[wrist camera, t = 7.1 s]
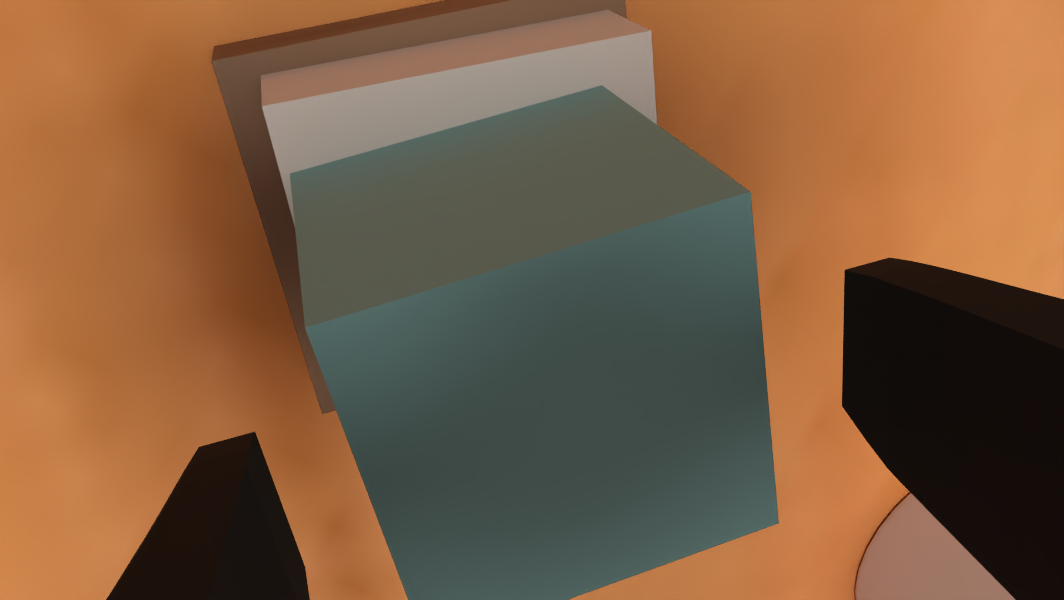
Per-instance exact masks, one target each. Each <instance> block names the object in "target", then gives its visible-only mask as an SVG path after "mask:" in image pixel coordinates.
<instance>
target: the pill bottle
mask: <svg viewBox="0 0 1064 600" xmlns="http://www.w3.org/2000/svg"><path fill="white" fill-rule="evenodd" d="M855 595H856V600H1015V599H1014V598H1013V597H1012V596H1011V595H1010V594H1009V592H1008V591H1007V590H1006V589H1005V588H1004V587H1003V586H1002V585H1001V584H1000V583H999V582H998V581H997V580H996V579H995V578H994V577H993V576H992V575H991V574H990V573H989V572H988V571H987V570H986V569H985V568H984V567H983V566H982V565H981V564H980V563H979V562H978V561H977V560H976V559H975V558H974V557H973V556H972V555H971V554H970V553H969V552H968V551H967V550H966V549H965V548H964V547H963V546H962V545H961V544H960V543H959V542H958V541H957V540H956V539H955V538H954V537H953V536H952V535H951V534H950V533H949V532H948V531H947V530H946V528H945V527H944V526H943V525H942V524H941V523H940V522H939V521H938V520H937V519H936V518H935V517H934V516H933V515H932V514H931V513H930V512H929V511H928V510H927V509H926V508H925V507H924V506H923V505H922V504H921V503H920V502H919V501H918V500H917V499H916V498H915V497H914V496H913V495H912V494H911V493H910V494H909V495H908V496H907V497H906V498H905V499H904V500H903V501H902V502H900V503H899V504H898V505H897V506H896V507H895V509H894V510H893V511H892V512H891V514H890V515H889V516H888V517H887V518H886V520H885V521H884V522H883V523H882V525H881V526H880V527H879V529H878V531H877V532H876V534H875V536H874V537H873V539H872V541H871V542H870V544H869V546H868V547H867V550H866V552H865V555H864V557H863V560H862V563H861V565H860V568H859V570H858V576H857V582H856V588H855Z"/></svg>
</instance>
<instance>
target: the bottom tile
mask: <svg viewBox="0 0 1064 600" xmlns="http://www.w3.org/2000/svg"><path fill="white" fill-rule="evenodd" d="M604 10H610V11H612V12H614V13H616V14H618V15H620V16H622V17H624V18H626V19H627V17H626V6H625V0H446V1H441V2H436V3H430V4H425V5H420V6H415V7H410V8H405V9H400V10H395V11H390V12H385V13H380V14H375V15H370V16H365V17H360V18H355V19H350V20H345V21H340V22H335V23H330V24H325V25H320V26H315V27H310V28H305V29H300V30H295V31H290V32H285V33H280V34H275V35H270V36H265V37H260V38H255V39H250V40H245V41H239V42H234V43H229V44H224V45H219V46H214V50H213V56H212V64H213V67H214V71H215V74H216V77H217V80H218V83H219V87H220V90H221V93H222V96H223V99H224V102H225V106H226V109H227V112H228V115H229V118H230V122H231V125H232V128H233V131H234V134H235V138H236V141H237V144H238V147H239V150H240V153H241V157H242V160H243V163H244V166H245V169H246V173H247V176H248V179H249V182H250V185H251V188H252V192H253V195H254V198H255V201H256V204H257V208H258V211H259V214H260V217H261V220H262V224H263V227H264V230H265V233H266V236H267V239H268V243H269V246H270V249H271V252H272V255H273V259H274V262H275V265H276V268H277V271H278V274H279V278H280V281H281V284H282V287H283V290H284V294H285V297H286V300H287V303H288V306H289V310H290V313H291V316H292V319H293V322H294V325H295V329H296V332H297V335H298V338H299V341H300V345H301V348H302V351H303V354H304V357H305V361H306V364H307V367H308V370H309V373H310V376H311V380H312V383H313V386H314V389H315V392H316V396H317V399H318V402H319V405H320V408H321V411H322V414H324V413H327V412H331V411H335V410H336V408H335V406H334V403H333V400H332V398H331V395H330V393H329V390H328V387H327V385H326V382H325V379H324V377H323V374H322V371H321V369H320V366H319V364H318V361H317V358H316V356H315V353H314V350H313V348H312V345H311V343H310V340H309V337H308V335H307V332H306V329H305V323H304V313H303V303H302V293H301V283H300V273H299V262H298V252H297V242H296V232H295V226H294V222H293V218H292V215H291V211H290V207H289V204H288V200H287V196H286V193H285V189H284V186H283V182H282V178H281V175H280V171H279V167H278V164H277V160H276V156H275V153H274V149H273V145H272V142H271V138H270V135H269V131H268V127H267V124H266V120H265V116H264V113H263V109H262V99H261V75H264V74H269V73H275V72H280V71H285V70H291V69H296V68H301V67H307V66H312V65H317V64H322V63H328V62H333V61H338V60H344V59H349V58H354V57H360V56H365V55H370V54H376V53H381V52H386V51H391V50H397V49H402V48H407V47H413V46H418V45H423V44H429V43H434V42H439V41H445V40H450V39H455V38H460V37H466V36H471V35H476V34H482V33H487V32H492V31H498V30H503V29H508V28H514V27H519V26H524V25H529V24H535V23H540V22H545V21H551V20H556V19H561V18H567V17H572V16H577V15H582V14H588V13H593V12H598V11H604Z"/></svg>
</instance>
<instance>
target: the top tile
mask: <svg viewBox="0 0 1064 600" xmlns="http://www.w3.org/2000/svg"><path fill="white" fill-rule="evenodd" d="M601 85H602V86H604V87H605V88H606V89H608V90H609V91H611V92H612V93H613V94H615V95H616V96H618V97H619V98H620V99H622V100H623V101H625V102H626V103H627V104H629V105H630V106H632V107H633V108H634V109H636V110H637V111H639V112H640V113H641V114H643V115H644V116H646V117H647V118H648V119H650V120H651V121H653V122H654V123H655V124H657V116H656V100H655V83H654V67H653V50H652V34H651V30H649V29H647V28H645V27H643V26H641V25H639V24H637V23H635V22H632V21H630V20H628V19H626V18H624V17H622V16H620V15H618V14H616V13H614V12H612V11H610V10H604V11H598V12H593V13H588V14H582V15H577V16H572V17H567V18H561V19H556V20H551V21H545V22H540V23H535V24H529V25H524V26H519V27H514V28H508V29H503V30H498V31H492V32H487V33H482V34H476V35H471V36H466V37H460V38H455V39H450V40H445V41H439V42H434V43H429V44H423V45H418V46H413V47H407V48H402V49H397V50H391V51H386V52H381V53H376V54H370V55H365V56H360V57H354V58H349V59H344V60H338V61H333V62H328V63H322V64H317V65H312V66H307V67H301V68H296V69H291V70H285V71H280V72H275V73H269V74H264V75H261V99H262V109H263V113H264V116H265V120H266V124H267V127H268V131H269V135H270V138H271V142H272V145H273V149H274V153H275V156H276V160H277V164H278V167H279V171H280V175H281V178H282V182H283V186H284V189H285V193H286V196H287V200H288V204H289V207H290V211H291V215H292V218H293V222H294V212H293V201H292V191H291V181H290V173H293V172H297V171H301V170H304V169H308V168H311V167H315V166H318V165H322V164H325V163H329V162H332V161H336V160H339V159H343V158H346V157H350V156H353V155H357V154H361V153H364V152H368V151H371V150H375V149H378V148H382V147H385V146H389V145H392V144H396V143H399V142H403V141H406V140H410V139H413V138H417V137H421V136H424V135H428V134H431V133H435V132H438V131H442V130H445V129H449V128H452V127H456V126H459V125H463V124H466V123H470V122H474V121H477V120H481V119H484V118H488V117H491V116H495V115H498V114H502V113H505V112H509V111H512V110H516V109H519V108H523V107H526V106H530V105H534V104H537V103H541V102H544V101H548V100H551V99H555V98H558V97H562V96H565V95H569V94H572V93H576V92H580V91H583V90H587V89H590V88H594V87H597V86H601ZM294 226H295V222H294Z"/></svg>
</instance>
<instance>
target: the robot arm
mask: <svg viewBox="0 0 1064 600" xmlns="http://www.w3.org/2000/svg"><path fill="white" fill-rule="evenodd" d="M842 406H843V408H844V409H845V411H846V412H847V414H848V415H849V416H850V418H851V419H852V421H853V422H854V424H855V425H856V426H857V428H858V429H859V431H860V432H861V434H862V435H863V436H864V438H865V439H866V441H867V442H868V443H869V445H870V446H871V447H872V448H873V450H874V451H875V452H876V454H877V455H878V456H879V458H880V459H881V460H882V462H883V463H884V464H885V466H886V467H887V468H888V469H889V470H890V471H891V472H892V473H893V475H894V476H895V477H896V478H897V479H898V480H899V481H900V482H901V483H902V484H903V485H904V486H905V487H906V488H907V489H908V490H909V491H910V492H911V494H912V495H913V496H914V497H915V498H916V499H917V500H918V501H919V502H920V503H921V504H922V505H923V506H924V507H925V508H926V509H927V510H928V511H929V512H930V513H931V514H932V515H933V516H934V517H935V518H936V519H937V520H938V521H939V522H940V523H941V524H942V525H943V526H944V527H945V528H946V530H947V531H948V532H949V533H950V534H951V535H952V536H953V537H954V538H955V539H956V540H957V541H958V542H959V543H960V544H961V545H962V546H963V547H964V548H965V549H966V550H967V551H968V552H969V553H970V554H971V555H972V556H973V557H974V558H975V559H976V560H977V561H978V562H979V563H980V564H981V565H982V566H983V567H984V568H985V569H986V570H987V571H988V572H989V573H990V574H991V575H992V576H993V577H994V578H995V579H996V580H997V581H998V582H999V583H1000V584H1001V585H1002V586H1003V587H1004V588H1005V589H1006V590H1007V591H1008V592H1009V594H1010V595H1011V596H1012V597H1013V598H1014V599H1015V600H1064V299H1060V298H1056V297H1052V296H1048V295H1045V294H1041V293H1037V292H1033V291H1029V290H1025V289H1022V288H1018V287H1014V286H1010V285H1006V284H1003V283H999V282H995V281H991V280H987V279H984V278H980V277H976V276H972V275H968V274H964V273H960V272H956V271H952V270H948V269H944V268H940V267H936V266H932V265H927V264H922V263H918V262H913V261H907V260H901V259H895V258H887V259H883V260H879V261H876V262H872V263H868V264H865V265H861V266H857V267H854V268H850V269H846V270H845V284H844V335H843V385H842ZM106 600H310V599H309V592H308V585H307V578H306V570H305V566H304V563H303V560H302V558H301V555H300V552H299V550H298V547H297V544H296V541H295V539H294V536H293V533H292V531H291V528H290V525H289V522H288V520H287V517H286V514H285V512H284V509H283V506H282V504H281V501H280V498H279V495H278V493H277V490H276V487H275V485H274V482H273V479H272V476H271V474H270V471H269V468H268V466H267V463H266V460H265V458H264V455H263V452H262V449H261V447H260V444H259V441H258V439H257V436H256V433H255V432H252V433H249V434H245V435H241V436H238V437H234V438H230V439H227V440H223V441H219V442H216V443H212V444H208V445H205V446H201V447H199V448H198V450H197V451H196V453H195V454H194V456H193V457H192V459H191V461H190V462H189V464H188V466H187V467H186V469H185V470H184V472H183V474H182V476H181V477H180V479H179V481H178V482H177V484H176V486H175V488H174V489H173V491H172V493H171V495H170V496H169V498H168V500H167V501H166V503H165V505H164V507H163V508H162V510H161V512H160V513H159V515H158V517H157V518H156V520H155V522H154V524H153V525H152V527H151V529H150V530H149V532H148V534H147V535H146V537H145V539H144V540H143V542H142V544H141V545H140V547H139V548H138V550H137V552H136V553H135V555H134V556H133V558H132V560H131V561H130V563H129V564H128V566H127V568H126V569H125V571H124V572H123V574H122V576H121V577H120V579H119V580H118V582H117V584H116V585H115V587H114V588H113V590H112V592H111V593H110V595H109V596H108V598H107V599H106Z"/></svg>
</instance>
